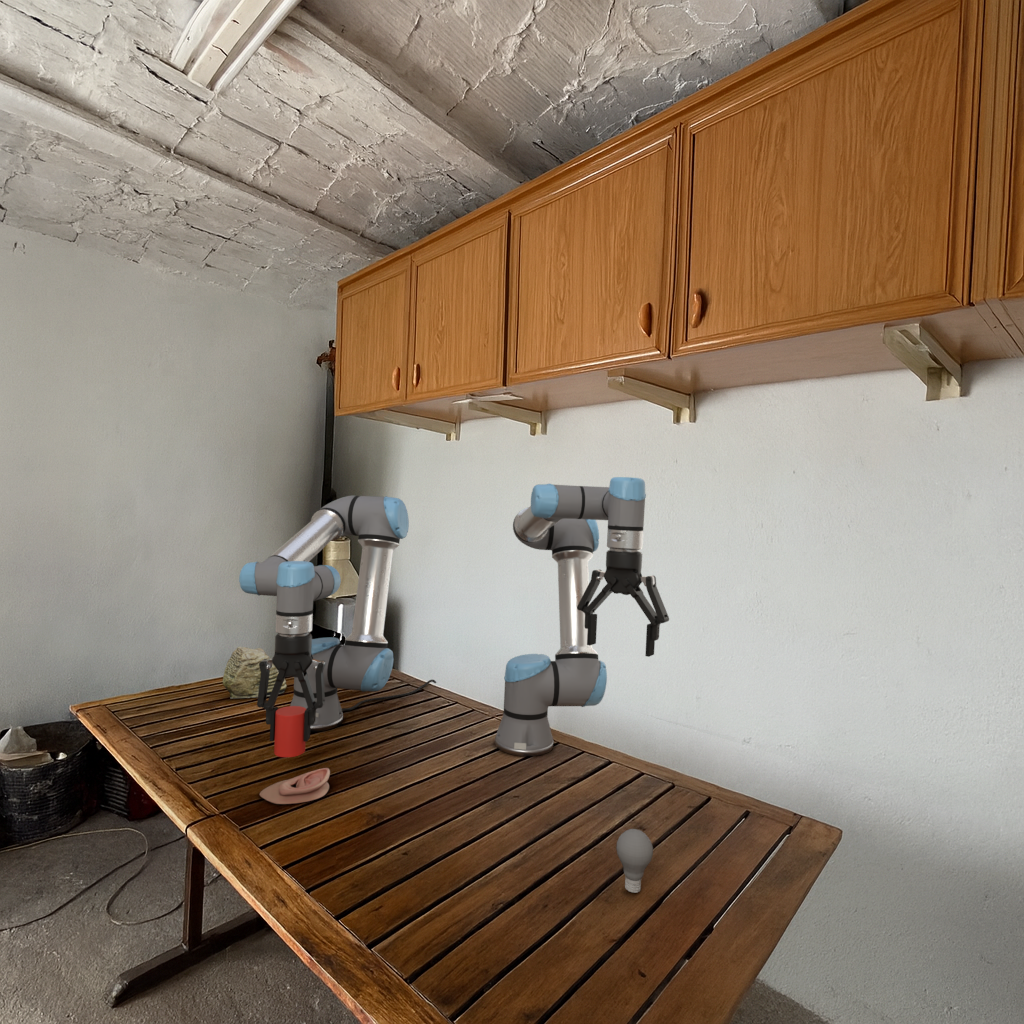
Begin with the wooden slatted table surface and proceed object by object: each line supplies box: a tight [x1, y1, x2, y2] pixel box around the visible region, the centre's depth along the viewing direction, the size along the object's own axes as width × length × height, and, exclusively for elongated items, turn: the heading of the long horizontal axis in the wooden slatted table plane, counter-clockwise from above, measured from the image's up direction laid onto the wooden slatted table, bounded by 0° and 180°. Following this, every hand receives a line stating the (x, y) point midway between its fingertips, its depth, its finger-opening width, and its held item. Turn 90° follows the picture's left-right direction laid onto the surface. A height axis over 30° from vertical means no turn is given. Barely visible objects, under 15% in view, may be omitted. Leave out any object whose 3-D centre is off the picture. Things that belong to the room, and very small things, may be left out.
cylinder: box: [273, 705, 307, 758], centre depth 137 cm, size 6×6×9 cm
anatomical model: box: [259, 767, 331, 805], centre depth 135 cm, size 13×4×12 cm
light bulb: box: [615, 828, 654, 894], centre depth 106 cm, size 6×6×10 cm
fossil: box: [222, 646, 288, 699], centre depth 198 cm, size 9×18×15 cm, turn 132°
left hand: (290, 738), depth 137 cm, fingers closed on cylinder, 6 cm apart
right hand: (619, 649), depth 135 cm, fingers open, 13 cm apart
